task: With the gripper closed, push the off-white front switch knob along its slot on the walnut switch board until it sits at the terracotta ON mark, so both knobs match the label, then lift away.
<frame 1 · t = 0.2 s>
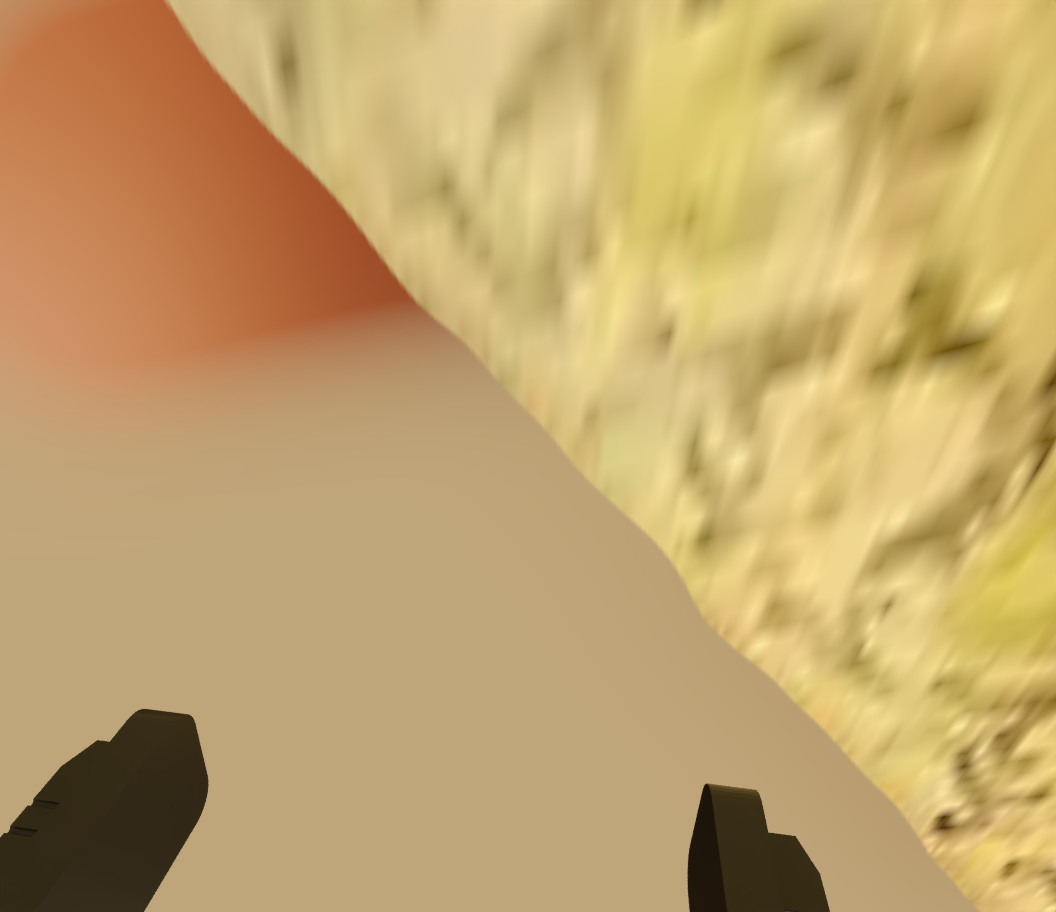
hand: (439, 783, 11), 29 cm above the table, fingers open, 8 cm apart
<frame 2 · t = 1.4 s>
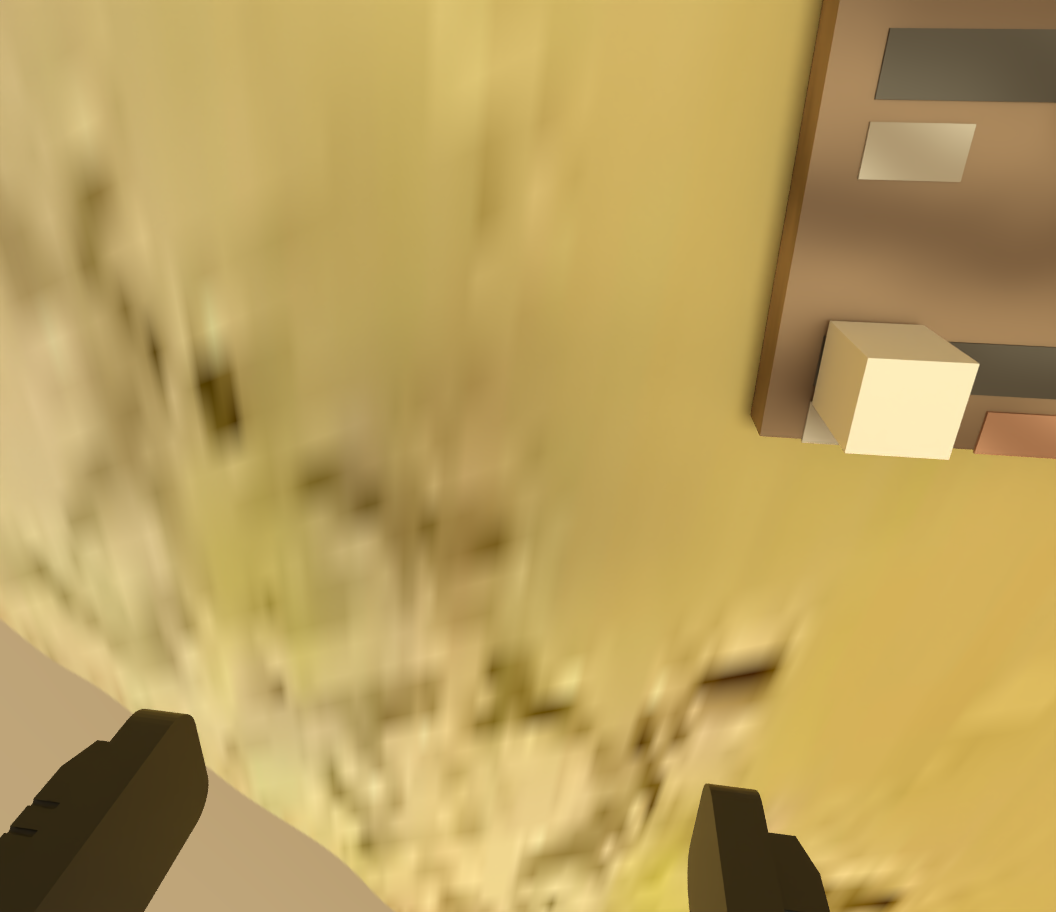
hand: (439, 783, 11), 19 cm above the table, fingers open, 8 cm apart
tab a: (885, 386, 22), point 4 cm above the table, slide at 0.0 cm
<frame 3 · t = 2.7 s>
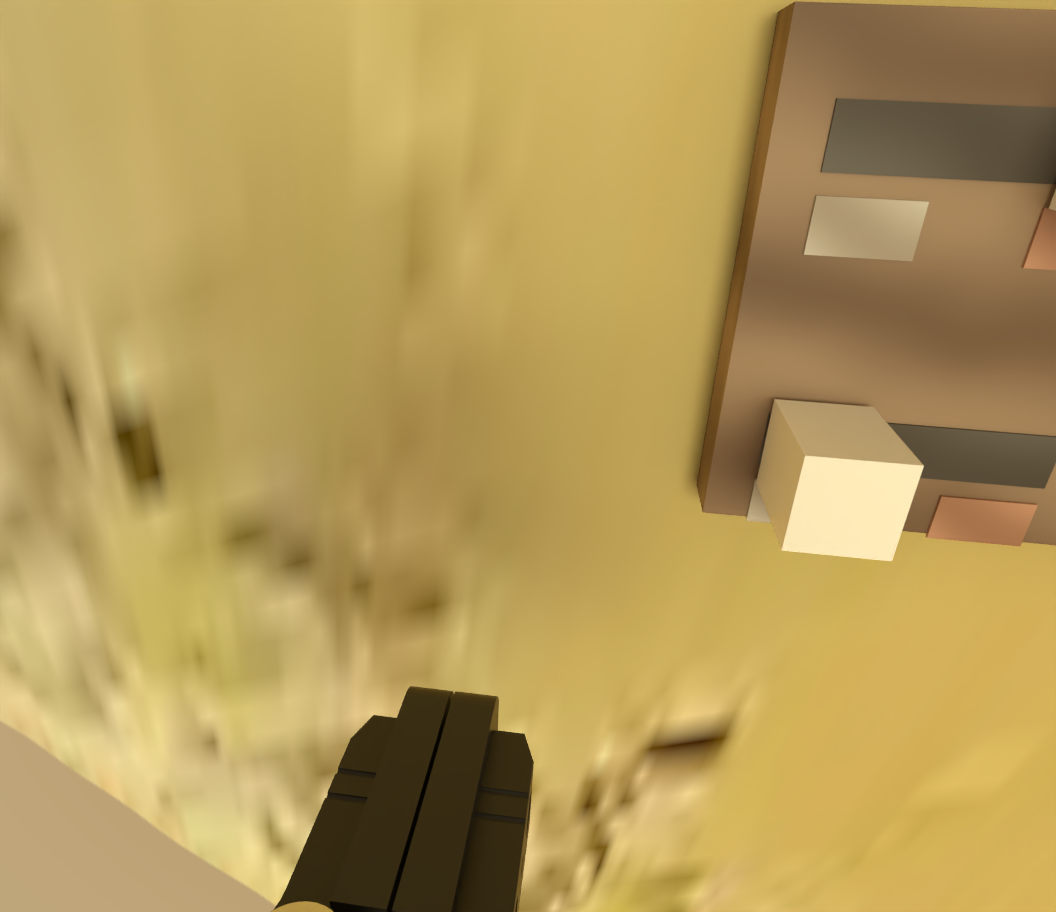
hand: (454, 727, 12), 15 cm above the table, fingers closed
switch board: (1022, 302, 22), on the table
tab a: (829, 475, 21), point 4 cm above the table, slide at 0.0 cm
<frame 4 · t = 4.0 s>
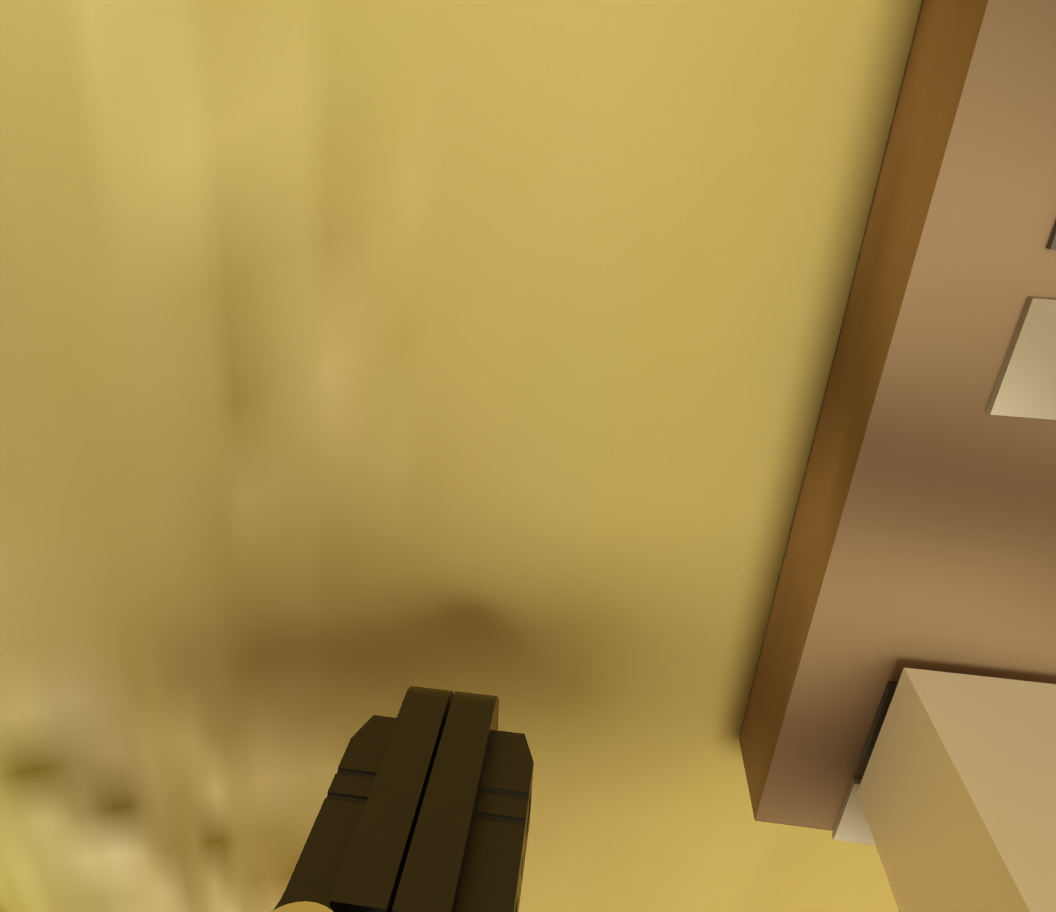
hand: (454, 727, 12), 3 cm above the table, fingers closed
tab a: (1032, 855, 10), point 4 cm above the table, slide at 0.0 cm
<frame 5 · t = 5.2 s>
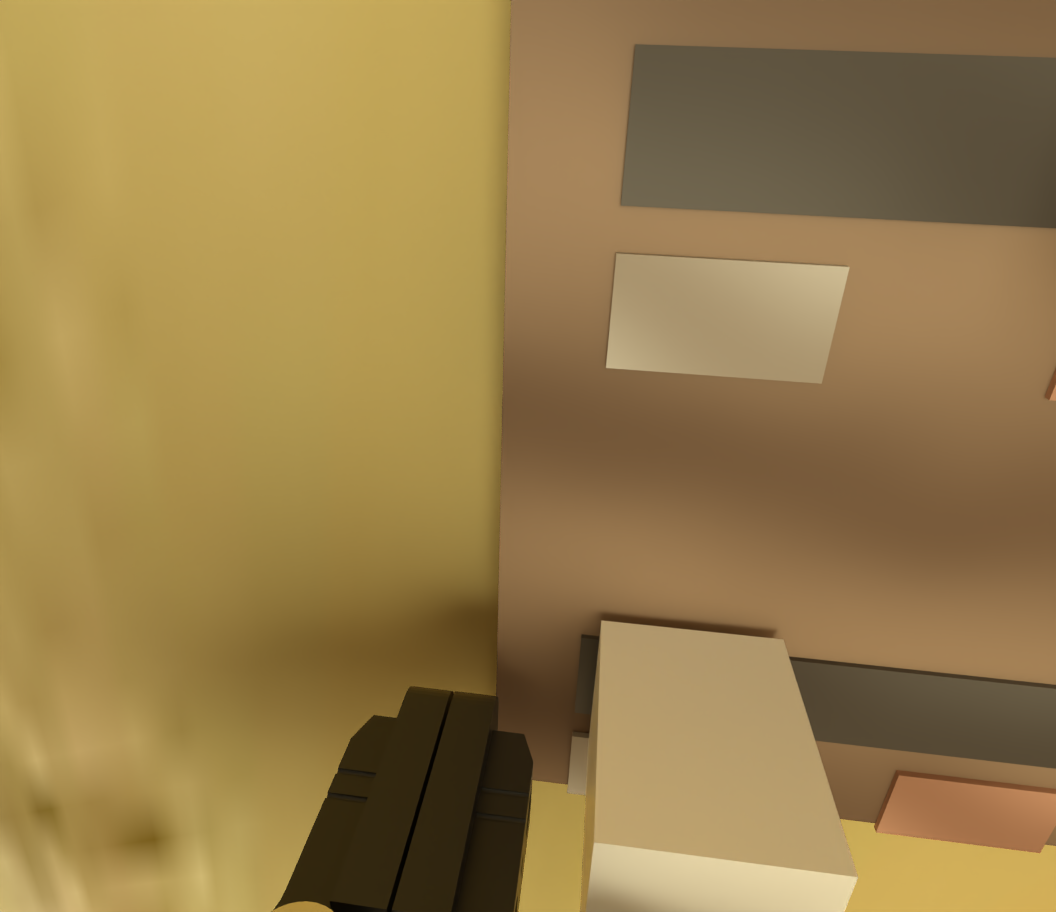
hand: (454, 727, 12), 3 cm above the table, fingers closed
switch board: (1042, 437, 12), on the table
tab a: (689, 795, 10), point 4 cm above the table, slide at 0.3 cm, touching gripper
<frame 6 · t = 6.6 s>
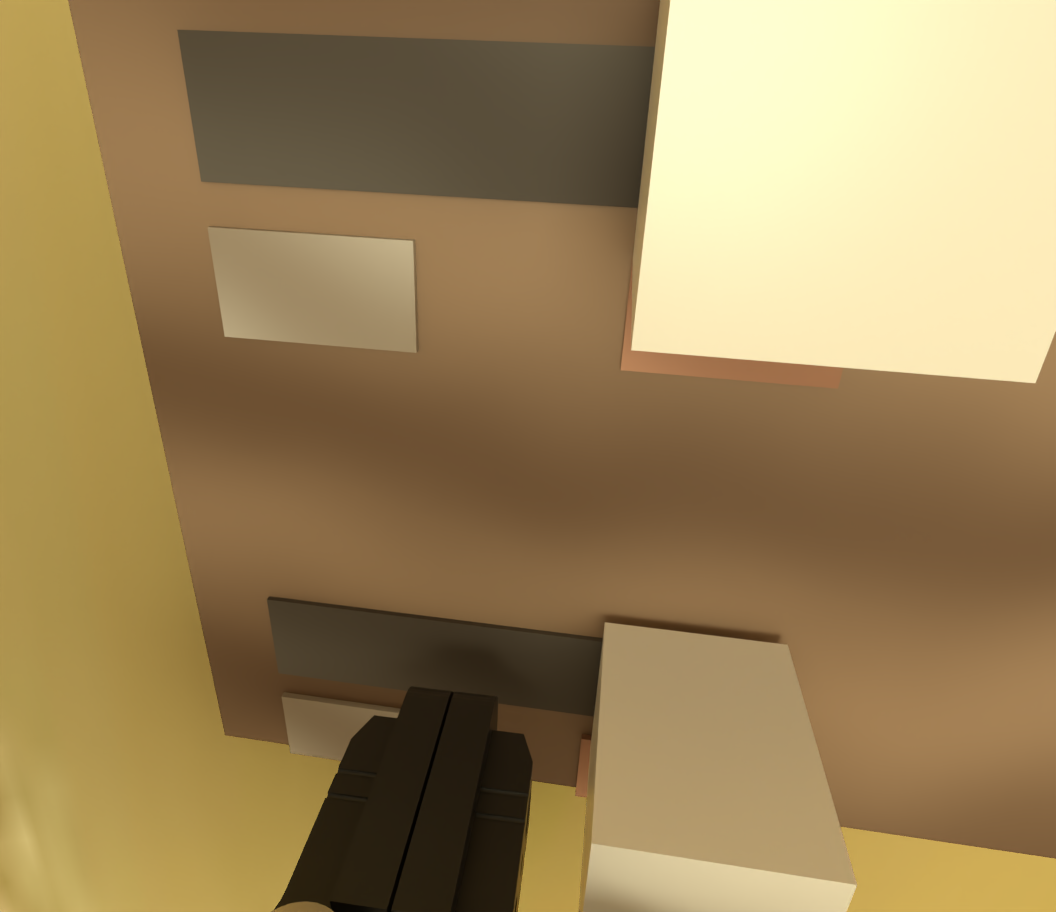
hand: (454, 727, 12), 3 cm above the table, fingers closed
tab b: (811, 143, 6), point 4 cm above the table, slide at 6.0 cm
switch board: (699, 413, 12), on the table
tab a: (690, 799, 10), point 4 cm above the table, slide at 6.2 cm, touching gripper
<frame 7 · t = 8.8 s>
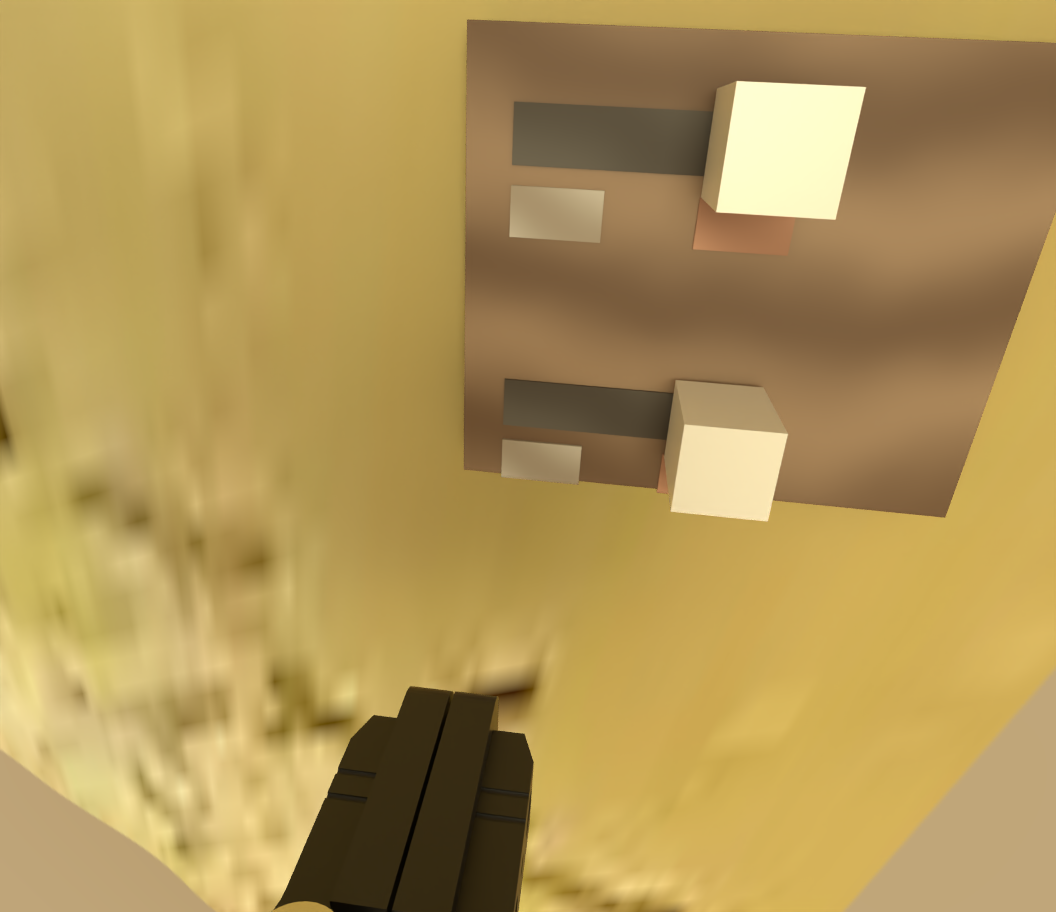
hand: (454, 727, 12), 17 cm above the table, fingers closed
tab b: (772, 149, 19), point 4 cm above the table, slide at 6.0 cm
switch board: (723, 282, 25), on the table
tab a: (719, 446, 23), point 4 cm above the table, slide at 6.1 cm
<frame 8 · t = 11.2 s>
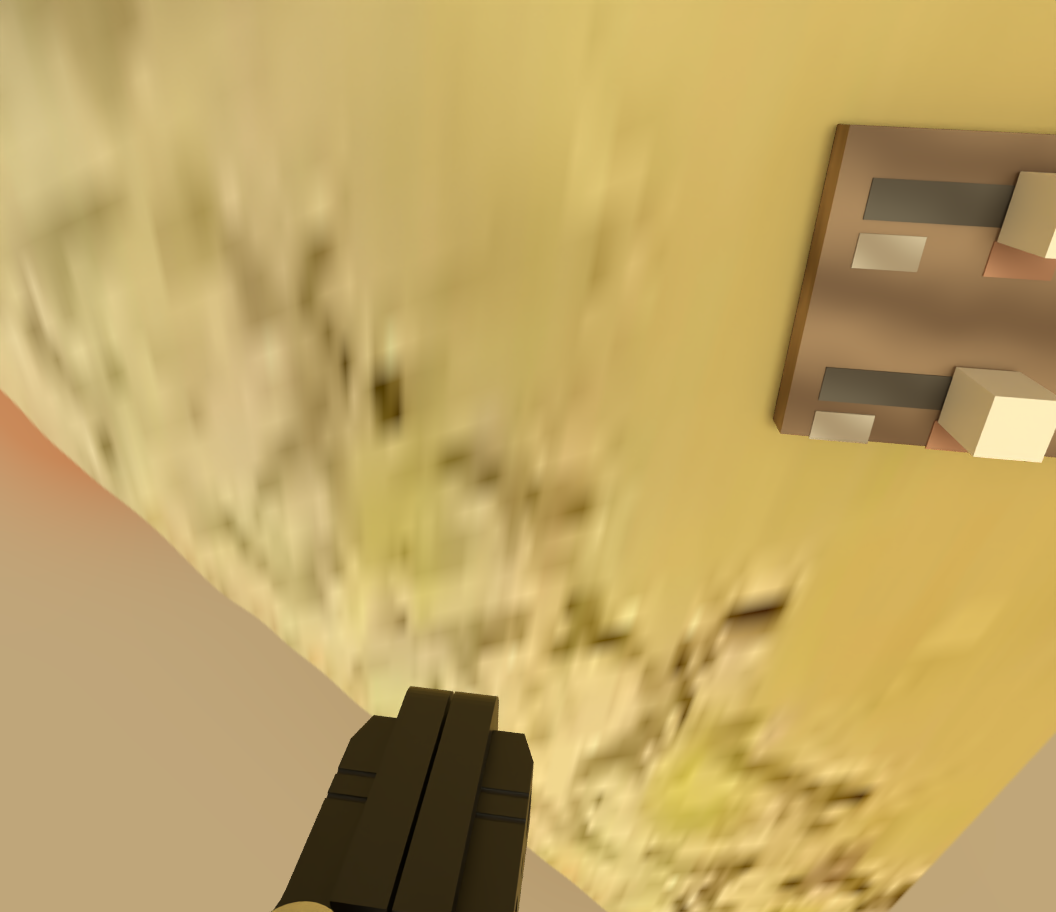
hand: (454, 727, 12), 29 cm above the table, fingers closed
switch board: (985, 297, 35), on the table
tab a: (997, 412, 33), point 4 cm above the table, slide at 6.1 cm
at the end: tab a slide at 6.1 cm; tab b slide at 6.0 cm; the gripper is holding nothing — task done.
